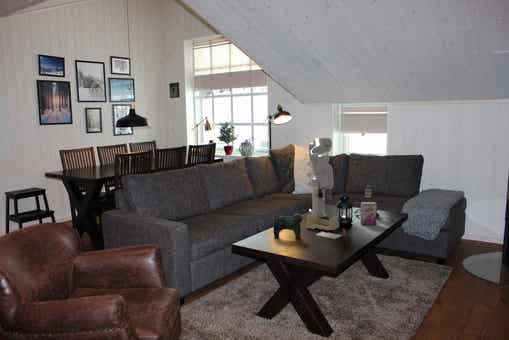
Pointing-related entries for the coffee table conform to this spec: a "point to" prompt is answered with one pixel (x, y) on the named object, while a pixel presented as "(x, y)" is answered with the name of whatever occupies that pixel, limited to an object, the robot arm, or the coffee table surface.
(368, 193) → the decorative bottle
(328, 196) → the block
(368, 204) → the candy bar box
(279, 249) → the coffee table surface
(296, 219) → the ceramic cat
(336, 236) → the felt pad
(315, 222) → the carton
